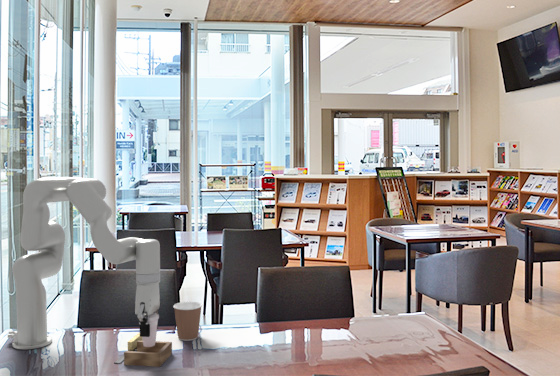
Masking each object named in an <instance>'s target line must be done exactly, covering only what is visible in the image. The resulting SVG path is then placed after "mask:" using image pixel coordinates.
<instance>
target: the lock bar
mask: <svg viewBox="0 0 560 376" xmlns="http://www.w3.org/2000/svg"><path fill="white" fill-rule="evenodd" d="M138 340H139V341H143V339H142V337H140V332H137V334H136V335H134V336H133V337H131V338H130V339H129V340H128V341H127V351H132V350H134V349H135V348H136V347H137V341H138Z"/></svg>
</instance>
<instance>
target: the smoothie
mask: <svg viewBox="0 0 560 376" xmlns="http://www.w3.org/2000/svg"><path fill="white" fill-rule="evenodd" d="M144 314H147V313H144ZM144 318H145V319H146V317H144ZM159 319H160V314H159V313H158V314H157V313H152V314H151V315H150V317H149V324H150V336H149V337H142V339H143V346H145V347H152V346H154V345H155V342H156V340H157V332H158V329H157V324H158V325H159Z"/></svg>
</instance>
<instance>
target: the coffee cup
mask: <svg viewBox="0 0 560 376" xmlns="http://www.w3.org/2000/svg"><path fill="white" fill-rule="evenodd" d="M172 307H173V308H174V316H175V323H176V326H175V327H176V333H177V334H176V335H177V336H178V340H180V341H184V342H185V341H188V342H190V341H195V340H196V339H198V338H199V337H198V336H199V331H200V322H201V313H202V307H203V304H202V303H201V302H199V301H198V302H197V301H182V302H177V303H174V305H173V306H172Z"/></svg>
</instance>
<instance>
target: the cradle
mask: <svg viewBox="0 0 560 376" xmlns="http://www.w3.org/2000/svg"><path fill="white" fill-rule="evenodd" d="M172 354H173V342H172V341H160V340H159V341H158V340H157V341H156V342H155V345H154V346H152V347H145V346H143V341H139V340H138V341H137V347H136V348H135V349H134V350H132V351H128V350H125V351H124V352H123V354H122V355H121V356H120V357H119V358H118V359H116V360H115V361H114V363H113V364H117V365H118V364H122V363H123V365H124V366H138V367H139V366H140V367H155V368H156V367H157V368H160V367H161V366H162V365H164V363H165V362H166V361H167V360H168V359H169V358H170V357H171V355H172Z"/></svg>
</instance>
